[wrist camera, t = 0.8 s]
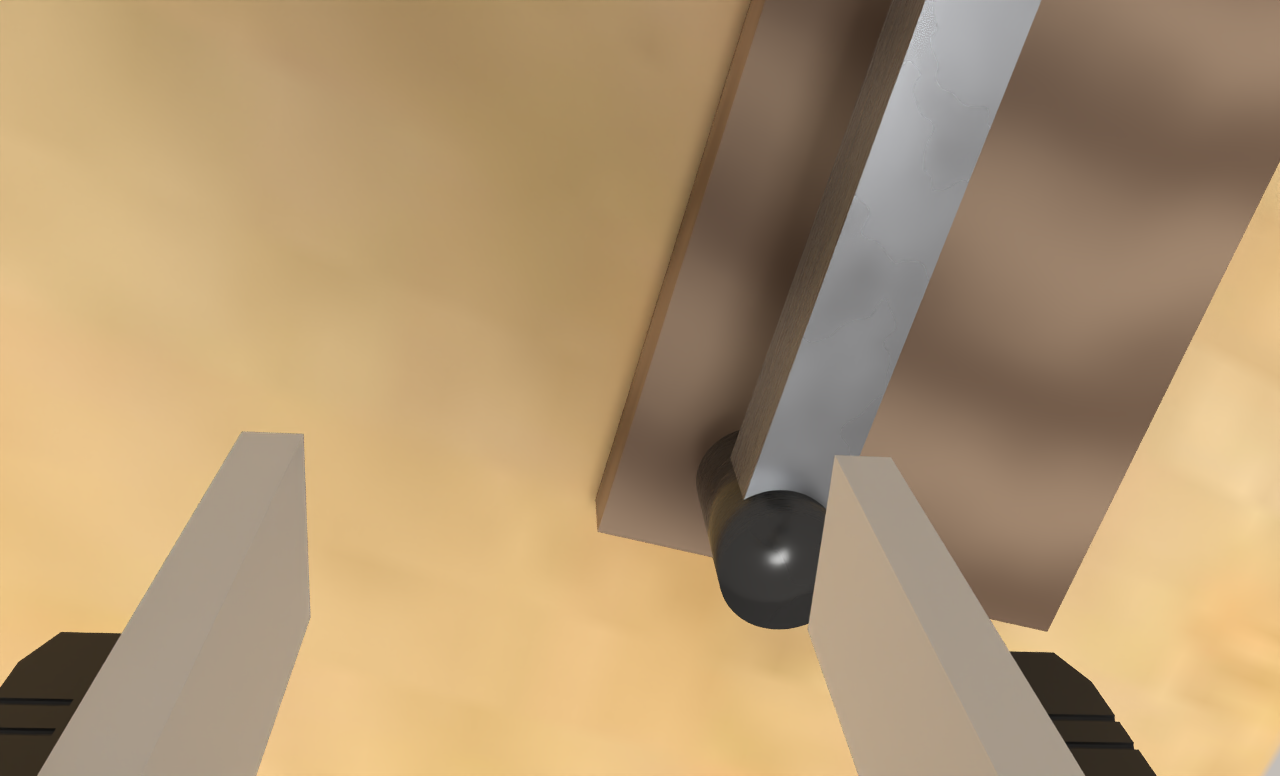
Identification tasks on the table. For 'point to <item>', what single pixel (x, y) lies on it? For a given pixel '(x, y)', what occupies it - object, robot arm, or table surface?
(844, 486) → the robot arm
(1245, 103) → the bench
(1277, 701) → the table surface
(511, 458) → the table surface
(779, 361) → the lever
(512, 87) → the table surface
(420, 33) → the table surface
